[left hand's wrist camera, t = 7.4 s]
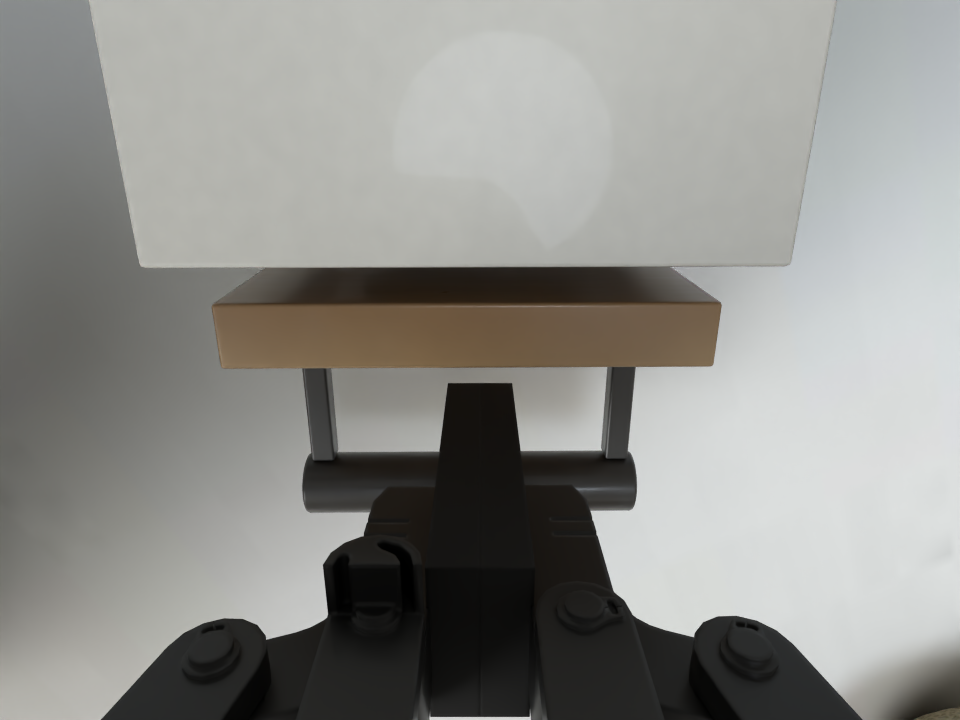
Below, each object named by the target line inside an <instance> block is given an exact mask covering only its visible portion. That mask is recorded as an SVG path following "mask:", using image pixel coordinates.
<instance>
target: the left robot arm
mask: <svg viewBox="0 0 960 720" xmlns="http://www.w3.org/2000/svg"><path fill="white" fill-rule="evenodd" d="M323 569H324V579H325V588H326V598H327V607H328V617H327V618H326V619H325V620H324V621H322V622H320V623H318V624H316V625H314V626H312V627H311V628H308V629H305V630H302V631H299V632H296V633H292V634H288V635H284V636H280V637H276V638H272V639H268V640H266V636H265V634H264V633H263V632H262V631H261V629H260V628H259V627H258V626H257V625H256V624H253V623H251V622H249V621H246V620H244V619H220V620H216V621H212V622H207V623H203V624H201V625H199V626H197V627H195V628H193V629H191V630H189V631H187V632H185V633H184V634H182V635H181V636H180V637H179V638H178V639H176V640H175V641H174V642H173V643H172V644H170V645H169V646H168V647H167V648H166V649H165V650H164V651H163V652H162V654H161V655H160V656H159V657H158V658H157V659H156V660H155V661H154V662H153V663H152V665H151V666H150V667H149V668H148V669H147V670H146V671H145V672H144V673H143V674H142V675H141V677H140V678H139V679H138V680H137V681H136V682H135V683H134V684H133V685H132V686H131V688H130V689H129V690H128V691H127V692H126V693H125V694H124V695H123V696H122V697H121V698H120V700H119V701H118V702H117V703H116V704H115V705H114V706H113V707H112V708H111V709H110V711H109V712H108V713H107V714H106V715H105V716H104V717H103V718H102V719H101V720H429V716H430V717H530V713H531V720H862V719H861V718H860V717H859V716H858V714H857V713H856V712H855V711H854V710H853V709H852V708H851V707H850V706H849V705H848V704H847V702H846V701H845V700H844V699H843V698H842V697H841V696H840V695H839V694H838V693H837V692H836V690H835V689H834V688H833V687H832V686H831V685H830V684H829V683H828V682H827V681H826V680H825V679H824V677H823V676H822V675H821V674H820V673H819V672H818V671H817V670H816V669H815V668H814V667H813V665H812V664H811V663H810V662H809V661H808V660H807V659H806V658H805V657H804V656H803V655H802V653H801V652H800V651H799V650H798V649H797V648H796V647H795V646H794V645H793V644H792V643H791V642H790V641H789V640H787V639H786V638H785V637H784V636H782V635H781V634H780V633H779V632H778V631H776V630H774V629H772V628H770V627H768V626H766V625H764V624H762V623H760V622H758V621H755V620H751V619H747V618H743V617H739V616H719V617H715V618H713V619H711V620H708V621H706V622H703V623H702V625H701V626H700V627H699V629H698V630H697V631H696V632H695V636H694V637H690V636H686V635H682V634H678V633H674V632H670V631H666V630H663V629H660V628H657V627H654V626H651V625H648V624H647V623H645V622H643V621H641V620H639V619H637V618H636V617H634V616H633V615H632V613H631V611H630V610H629V608H628V606H627V604H626V603H625V601H624V600H623V599H622V598H620V597H619V596H618V595H617V594H615V593H614V591H613V588H612V585H611V581H610V578H609V574H608V571H607V567H606V564H605V560H604V557H603V553H602V550H601V546H600V543H599V540H598V536H597V535H596V529H595V526H594V522H593V521H592V515H591V512H590V508H589V505H588V501H587V499H586V498H585V497H584V496H583V495H582V494H581V493H580V492H579V491H578V490H577V489H576V488H575V487H574V486H573V485H525V483H524V475H523V468H522V460H521V452H520V444H519V436H518V428H517V420H516V412H515V404H514V396H513V388H512V383H448V388H447V396H446V404H445V412H444V420H443V428H442V436H441V444H440V452H439V460H438V468H437V475H436V483H435V486H388V487H387V488H386V489H385V490H384V491H383V492H382V493H381V494H380V495H379V496H378V497H377V498H376V499H375V500H374V501H373V504H372V507H371V511H370V514H369V518H368V523H367V525H366V528H365V532H364V536H363V537H360V538H357V539H354V540H351V541H349V542H346V543H344V544H343V545H341V546H340V547H338V548H337V549H336V550H334V551H333V552H331V554H330V555H329V557H328V558H327V560H326V561H325V563H324V564H323Z"/></svg>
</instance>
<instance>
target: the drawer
mask: <svg viewBox="0 0 960 720" xmlns="http://www.w3.org/2000/svg"><path fill="white" fill-rule="evenodd" d="M721 306H722V305H721V302H719V301H718V300H716V299H715V298H714V297H712V296H711V295H709V294H708V293H706V292H705V291H704V290H702V289H701V288H699V287H698V286H697V285H695V284H694V283H692V282H691V281H689V280H688V279H687V278H685V277H684V276H682V275H681V274H680V273H678V272H677V271H675V270H674V269H672V268H671V267H355V268H265V269H263V270H262V271H260V272H259V273H257V274H256V275H255V276H253V277H252V278H250V279H249V280H247V281H246V282H244V283H243V284H241V285H240V286H238V287H237V288H236V289H234V290H233V291H231V292H230V293H228V294H227V295H225V296H224V297H222V298H221V299H220V300H218V301H217V302H215V303H214V304H213V305H212V312H213V318H214V325H215V331H216V338H217V344H218V350H219V357H220V363H221V367H222V368H224V369H251V368H302V369H303V378H304V388H305V397H306V406H307V416H308V425H309V434H310V444H311V454H309V456H308V458H307V460H306V463H305V467H304V472H303V483H302V491H303V501H304V505H305V508H306V510H307V511H308V512H310V513H333V512H370V511H371V507H372V504H373V501H374V500H375V499H376V498H377V497H378V496H379V495H380V494H381V493H382V492H383V491H384V490H385V489H386V488H387V487H388V486H435V483H436V475H437V468H438V460H439V452H338V440H337V429H336V418H335V407H334V395H333V384H332V373H331V368H472V367H607V380H606V393H605V406H604V419H603V432H602V445H601V449H602V451H520V452H521V460H522V468H523V475H524V483H525V485H573V486H574V487H575V488H576V489H577V490H578V491H579V492H580V493H581V494H582V495H583V496H584V497H585V498H586V499H587V501H588V505H589V508H590V511H608V510H631V509H633V507H634V505H635V501H636V494H637V477H636V469H635V464H634V460H633V457H632V455H631V453H630V452H628V442H629V432H630V421H631V410H632V400H633V389H634V378H635V368H636V367H693V366H712V365H713V363H714V356H715V348H716V341H717V334H718V327H719V320H720V313H721Z"/></svg>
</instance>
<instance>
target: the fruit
mask: <svg viewBox="0 0 960 720" xmlns="http://www.w3.org/2000/svg"><path fill="white" fill-rule="evenodd" d="M914 720H960V708H950V709H944V710H941V711H937V712H933V713H929V714H925V715H923V716H920V717H918V718H916V719H914Z"/></svg>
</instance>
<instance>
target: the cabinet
mask: <svg viewBox="0 0 960 720" xmlns="http://www.w3.org/2000/svg"><path fill="white" fill-rule="evenodd" d="M88 1H89V6H90V11H91V16H92V21H93V26H94V32H95V37H96V42H97V47H98V52H99V58H100V63H101V68H102V73H103V78H104V83H105V89H106V94H107V99H108V104H109V109H110V115H111V120H112V125H113V130H114V135H115V140H116V146H117V151H118V156H119V161H120V166H121V171H122V177H123V182H124V187H125V192H126V197H127V203H128V208H129V213H130V218H131V223H132V228H133V234H134V239H135V244H136V249H137V254H138V260H139V264H140V266H141V267H144V268H355V267H741V266H787V265H790V263H791V259H792V253H793V248H794V242H795V236H796V231H797V225H798V219H799V214H800V208H801V202H802V196H803V191H804V185H805V179H806V174H807V168H808V162H809V157H810V151H811V145H812V140H813V134H814V128H815V123H816V117H817V111H818V106H819V100H820V94H821V89H822V83H823V77H824V72H825V66H826V60H827V55H828V49H829V43H830V38H831V32H832V26H833V21H834V15H835V9H836V4H837V0H88Z"/></svg>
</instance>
